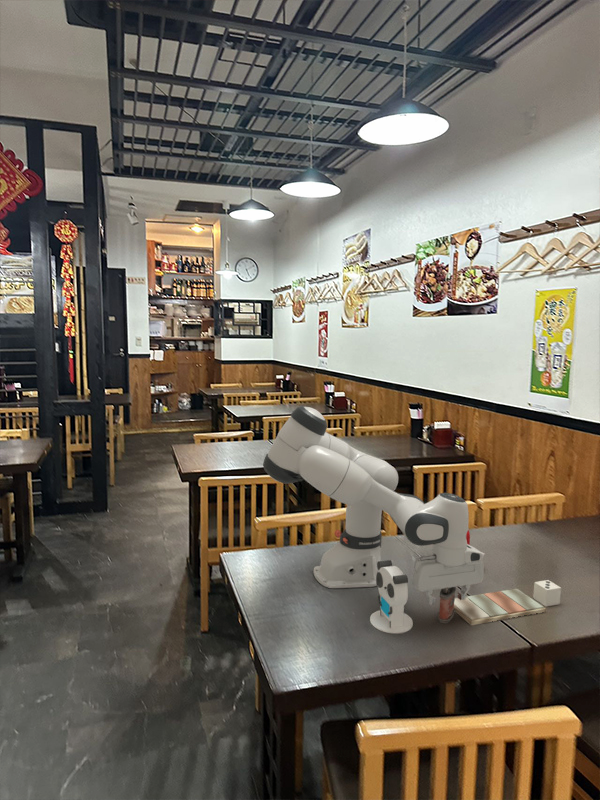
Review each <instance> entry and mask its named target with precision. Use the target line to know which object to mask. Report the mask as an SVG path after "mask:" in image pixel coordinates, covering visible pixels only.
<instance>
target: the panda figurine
mask: <svg viewBox="0 0 600 800" xmlns="http://www.w3.org/2000/svg"><path fill="white" fill-rule="evenodd" d="M377 568H378V570H379V572H377V575H376V584H377V585H376V586H377V588H378V593H379V595H378V597H377V601H378V605H379V606H380V607H379V608H380V609H378V610H376V611H375V612H373V613H371V615H370V617H369V622H370V624H371V626H373V627H374V628H375V629H377V630H379V631H380V632H383V633H387V634H404V633H407V632H408V631H411V629H412V628H413V624H414V623H413V619H412V617H410V616H409V615H408V614H407V613H405V610H404V609H405V605H406V604H407V602H408V596H409V595H408V594H409V591H408V589H409V588H408V583H409V577H408V575H407V574H404V573H403V571H402V570H401V569H400V568H399V567H398V566H396V565H393V563H392V560H389V559H388V560H387V559H386V560H381V561H378V562H377Z"/></svg>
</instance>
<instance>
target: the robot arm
mask: <svg viewBox="0 0 600 800" xmlns="http://www.w3.org/2000/svg"><path fill="white" fill-rule="evenodd" d="M327 428H328V422H327V420H326V419H325V417H324V416H323V414H322V413H321V412H320V411H318V410H317V409H316V408H313V407H308V406H305V405H301V406H298V407H296V408H295V409H294V410H293V411H292V412H291V413H290V417H288V419H287V420H286V421H285V423H284V424H283V425H282V427H281V428H280V430H279V431H278V433H277V436H276V437H275V439H274V441H273V443H272V445H271V447H270V448H269V451H268V453H266V454H265V457H264V460H263V463H262V467H263V469H264V472H265V473H266V474H268V477H270V478H271V479H273V480H274V481H277V482H278V483H281V484H286V485H287V484H288V485H289V484H294V483H296V482H303V481H306V482H307V483H309V485H311V486H312V487H314V489H316V490H318V491H319V492H321V493H322V494H324V495H326V496H327V497H329V498H331V499H332V500H335V501H337V502H339V503H341V504H344V505H346V508H345V528H344V530H343V532H342V531H340V530H339V529H336V530H334V533H333V534H334V535H335V537H336V538H338V539H339V541H338V542H337V543H335V545H333V546H332V547H331V548H329V549H328V550H327V551H325V552H324V553H323V554H322V557H321V560H320V564H319V565H316V566H314V568H313V571H312V572H313V573H312V574H313V576H314V578H315V580H316V581H318V583H320V584H321V585H322V586H324V587H325V588H329V589H346V588H351V589H352V588H369V587H370V588H372V587H376V586H377V584H376V575H377V572H379V570H378V568H377V562H378V561H382V558H381V548H382V539H383V537H382V531H381V525H382V513H383V512H385V513H386V514H387V515H388V516H389V517H390V518H391V519H392V521H393V522H394V524H395V525H396V526H397V527H398V528H399V529H400V531H401V532H402V534H403V535H404V536H405V537H406V539H407V540H408V541H409V542H410V543H412V544H413V545H416V546H419V547H420V546H422V547H423V546H430V545H432V554H429V555H421V556H419V557H418V558H417V559H416V560H415V561H414V569H413V572H412V579H411V580H412V581H411V582H412V586H413V587H414V588H415V589H416V590H417V591H418V592H425V595H426V596H427V603H428V604H429V605H436V600H437V598H436V597H434V595H432V594H433V592H434V591H436V590H441V589H444V588H446V587H448V588H451V587H456V588H457V587H461V589H460V591H457V598H459V599H460V600H465V599H466V597H467V593H468V592H469V591H470V589H471V586H472V585H478V584H480V583H482V581H484V563H483V559H484V556H483V554H482V553H481V552H482V551H480V550H479V549H478V548H476V547H474V546H473V545H471V544H470V545H468V544H467V540H466V534H467V531H468V530H469V529H468V528H469V506H468V503H467V502H466V500H465V499H464V498H462V497H461V496H459V495H456V494H454V493H451V492H450V493H449V492H441V493H439V494H437V496H436V497H435V498H433V499H431V500H430V501H428V502H424V501H423V499H422V498H420V497H418V496H417V495H414V494H410V493H409V494H408V493H399V492H397V491H395V490H396V489H397V486H398V483H399V474H398V471H397V469H396V468H395V467H394V466H392V465H391V464H390V463H388V462H387V461H385V460H384V459H381V458H378V457H377V456H372V455H370V454H367V453H366V452H363V451H360V450H359V449H356V448H355V447H353V446H351V445H350V444H349V443H348V442H347V441H344V440H342V439H340V438H338V437H336V436H334V435H332V434H331V433H328V432H327ZM382 511H383V512H382Z"/></svg>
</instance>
